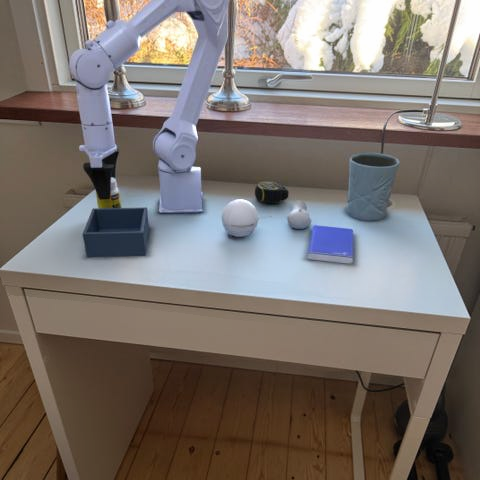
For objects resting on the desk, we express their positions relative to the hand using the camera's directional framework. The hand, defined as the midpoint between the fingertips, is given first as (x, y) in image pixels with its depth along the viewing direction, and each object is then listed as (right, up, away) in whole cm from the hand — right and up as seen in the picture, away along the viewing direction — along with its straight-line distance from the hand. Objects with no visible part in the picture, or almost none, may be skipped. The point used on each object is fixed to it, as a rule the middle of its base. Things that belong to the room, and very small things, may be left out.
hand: (107, 191), depth 96 cm
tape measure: (+35, +2, +14) cm, 38 cm away
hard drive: (+45, -12, -5) cm, 47 cm away
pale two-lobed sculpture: (+40, -6, +3) cm, 41 cm away
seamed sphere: (+29, -10, -2) cm, 30 cm away
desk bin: (+4, -11, -6) cm, 13 cm away
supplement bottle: (0, -5, +4) cm, 6 cm away
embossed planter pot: (+56, -3, +9) cm, 56 cm away
